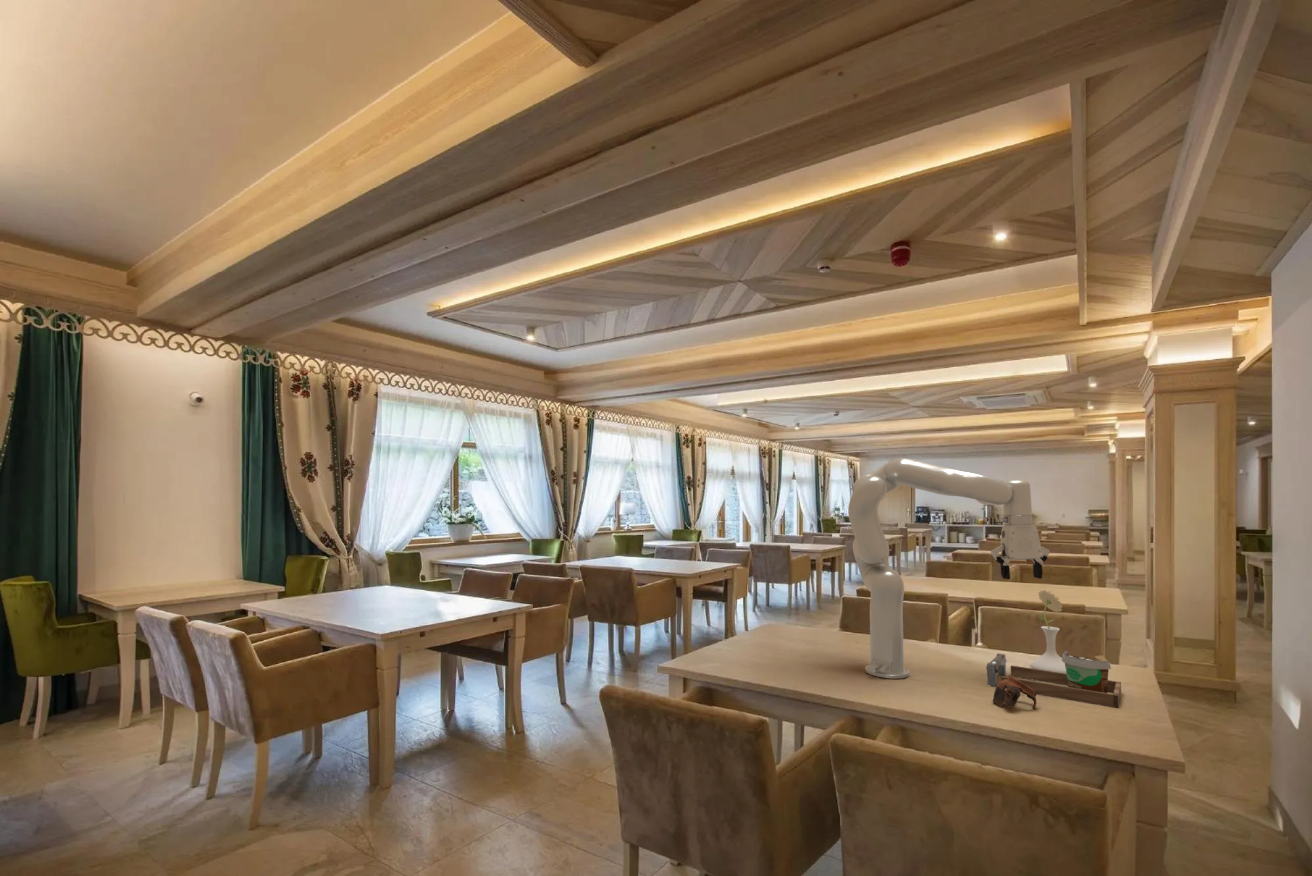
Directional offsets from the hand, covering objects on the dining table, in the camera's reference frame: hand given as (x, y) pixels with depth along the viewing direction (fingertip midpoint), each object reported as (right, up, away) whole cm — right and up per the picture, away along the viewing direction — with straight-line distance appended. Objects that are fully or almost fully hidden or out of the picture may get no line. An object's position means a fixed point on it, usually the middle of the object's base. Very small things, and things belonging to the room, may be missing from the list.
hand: (1022, 578), depth 196 cm
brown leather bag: (-18, -27, -28) cm, 43 cm away
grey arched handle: (-9, -29, -3) cm, 31 cm away
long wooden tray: (+3, -28, -13) cm, 32 cm away
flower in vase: (+11, -30, +4) cm, 32 cm away
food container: (+7, -28, -17) cm, 34 cm away
